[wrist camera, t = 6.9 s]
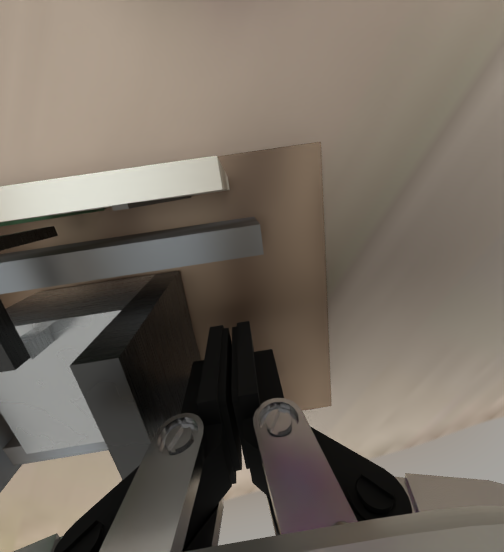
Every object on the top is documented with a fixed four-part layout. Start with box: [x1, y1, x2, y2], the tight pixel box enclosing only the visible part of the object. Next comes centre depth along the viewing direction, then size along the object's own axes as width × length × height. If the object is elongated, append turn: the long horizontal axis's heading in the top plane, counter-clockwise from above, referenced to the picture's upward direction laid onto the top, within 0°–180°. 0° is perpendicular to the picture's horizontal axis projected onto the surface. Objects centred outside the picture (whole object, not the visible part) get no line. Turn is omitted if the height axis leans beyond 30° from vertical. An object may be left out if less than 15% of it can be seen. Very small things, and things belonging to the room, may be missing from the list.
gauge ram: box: [0, 226, 201, 480], centre depth 10 cm, size 7×9×7 cm
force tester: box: [0, 142, 331, 492], centre depth 11 cm, size 21×16×9 cm
